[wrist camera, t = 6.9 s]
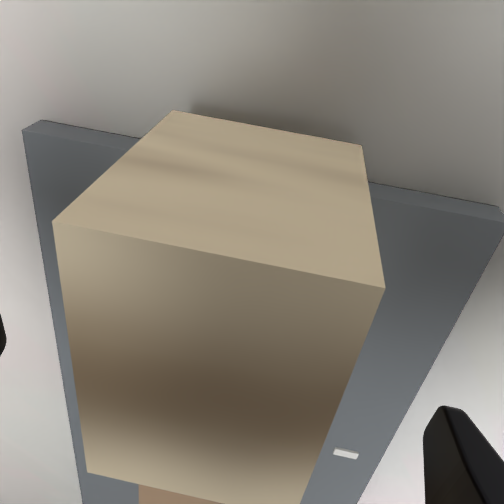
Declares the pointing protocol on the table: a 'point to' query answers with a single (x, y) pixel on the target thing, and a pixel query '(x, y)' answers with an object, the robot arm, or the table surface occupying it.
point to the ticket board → (377, 340)
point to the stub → (218, 306)
